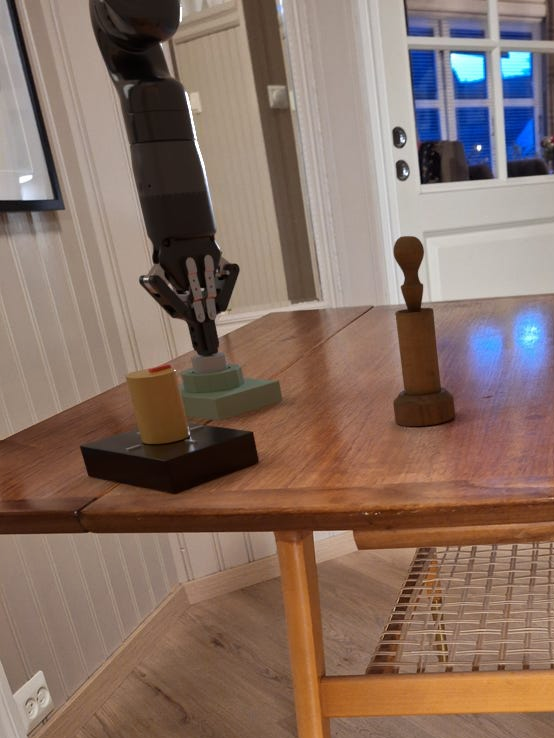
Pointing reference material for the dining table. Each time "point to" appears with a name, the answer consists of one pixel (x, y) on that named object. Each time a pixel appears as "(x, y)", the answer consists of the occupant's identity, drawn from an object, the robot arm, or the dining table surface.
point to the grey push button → (209, 363)
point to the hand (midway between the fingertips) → (208, 354)
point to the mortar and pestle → (418, 348)
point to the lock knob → (158, 405)
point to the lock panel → (170, 458)
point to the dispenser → (225, 393)
